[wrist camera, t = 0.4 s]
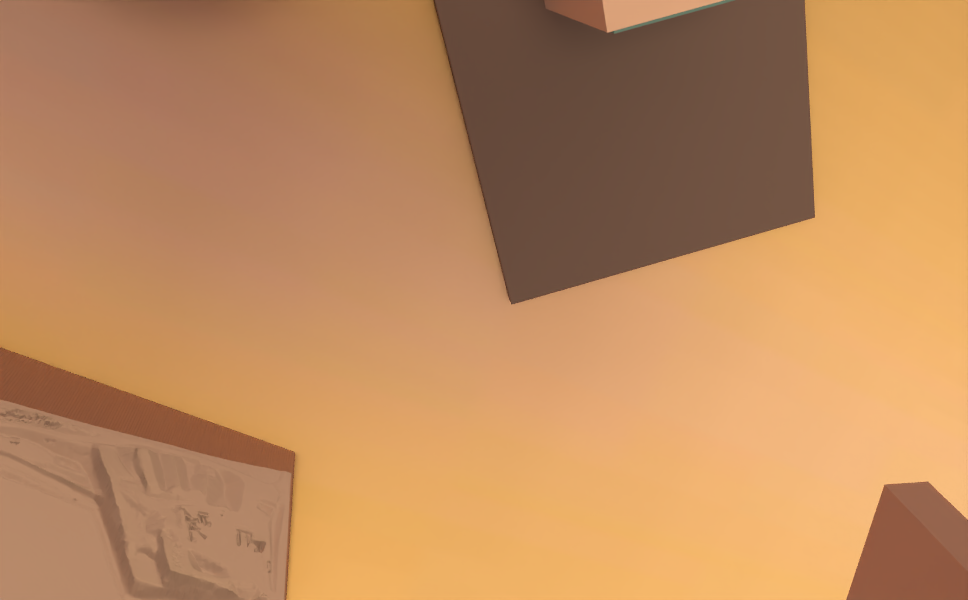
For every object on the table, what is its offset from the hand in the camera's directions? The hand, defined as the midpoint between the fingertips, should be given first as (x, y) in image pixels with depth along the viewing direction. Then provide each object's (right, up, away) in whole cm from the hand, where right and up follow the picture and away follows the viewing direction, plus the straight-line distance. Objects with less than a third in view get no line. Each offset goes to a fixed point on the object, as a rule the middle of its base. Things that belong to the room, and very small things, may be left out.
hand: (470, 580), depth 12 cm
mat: (+7, +15, +24) cm, 29 cm away
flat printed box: (-20, -4, +29) cm, 36 cm away
